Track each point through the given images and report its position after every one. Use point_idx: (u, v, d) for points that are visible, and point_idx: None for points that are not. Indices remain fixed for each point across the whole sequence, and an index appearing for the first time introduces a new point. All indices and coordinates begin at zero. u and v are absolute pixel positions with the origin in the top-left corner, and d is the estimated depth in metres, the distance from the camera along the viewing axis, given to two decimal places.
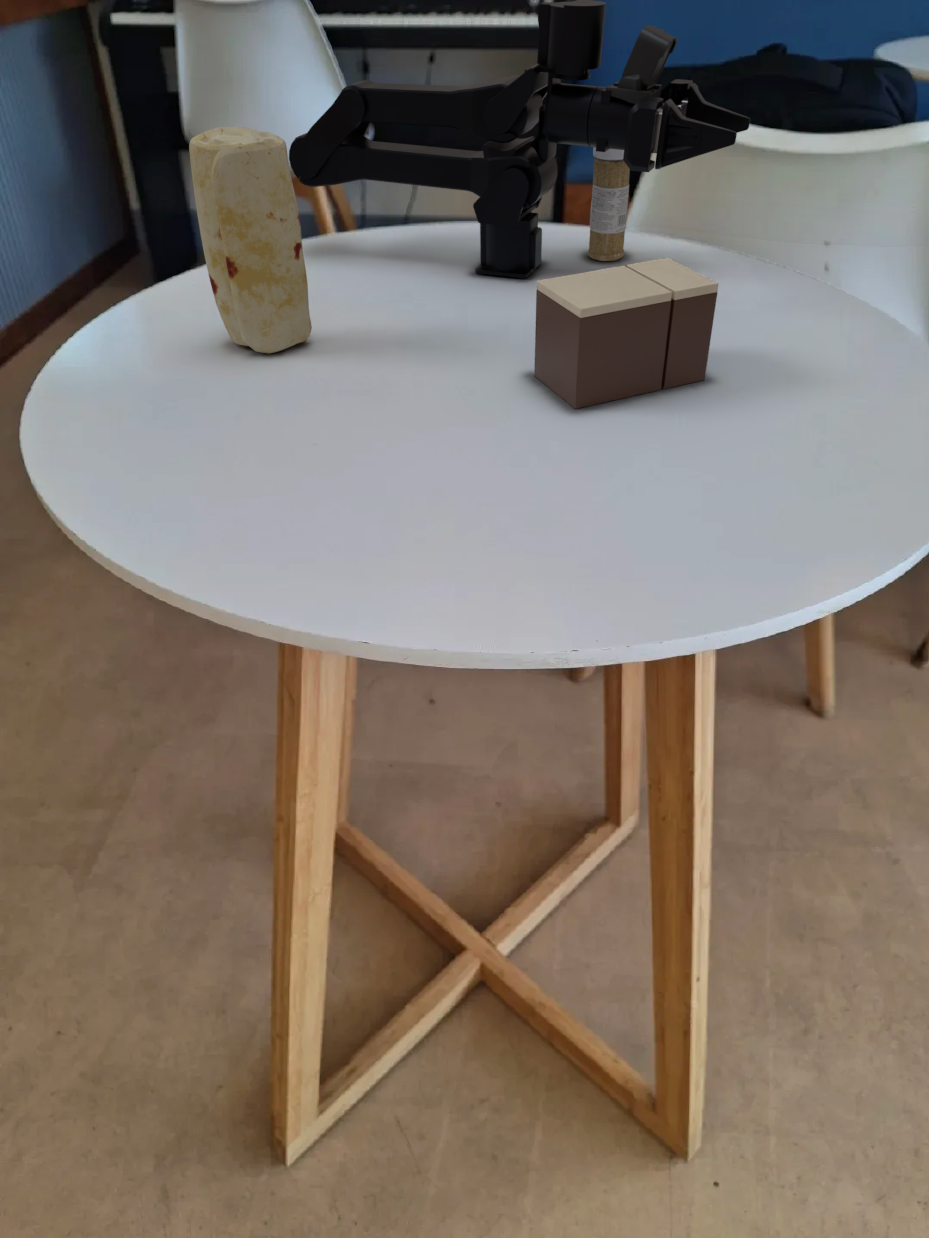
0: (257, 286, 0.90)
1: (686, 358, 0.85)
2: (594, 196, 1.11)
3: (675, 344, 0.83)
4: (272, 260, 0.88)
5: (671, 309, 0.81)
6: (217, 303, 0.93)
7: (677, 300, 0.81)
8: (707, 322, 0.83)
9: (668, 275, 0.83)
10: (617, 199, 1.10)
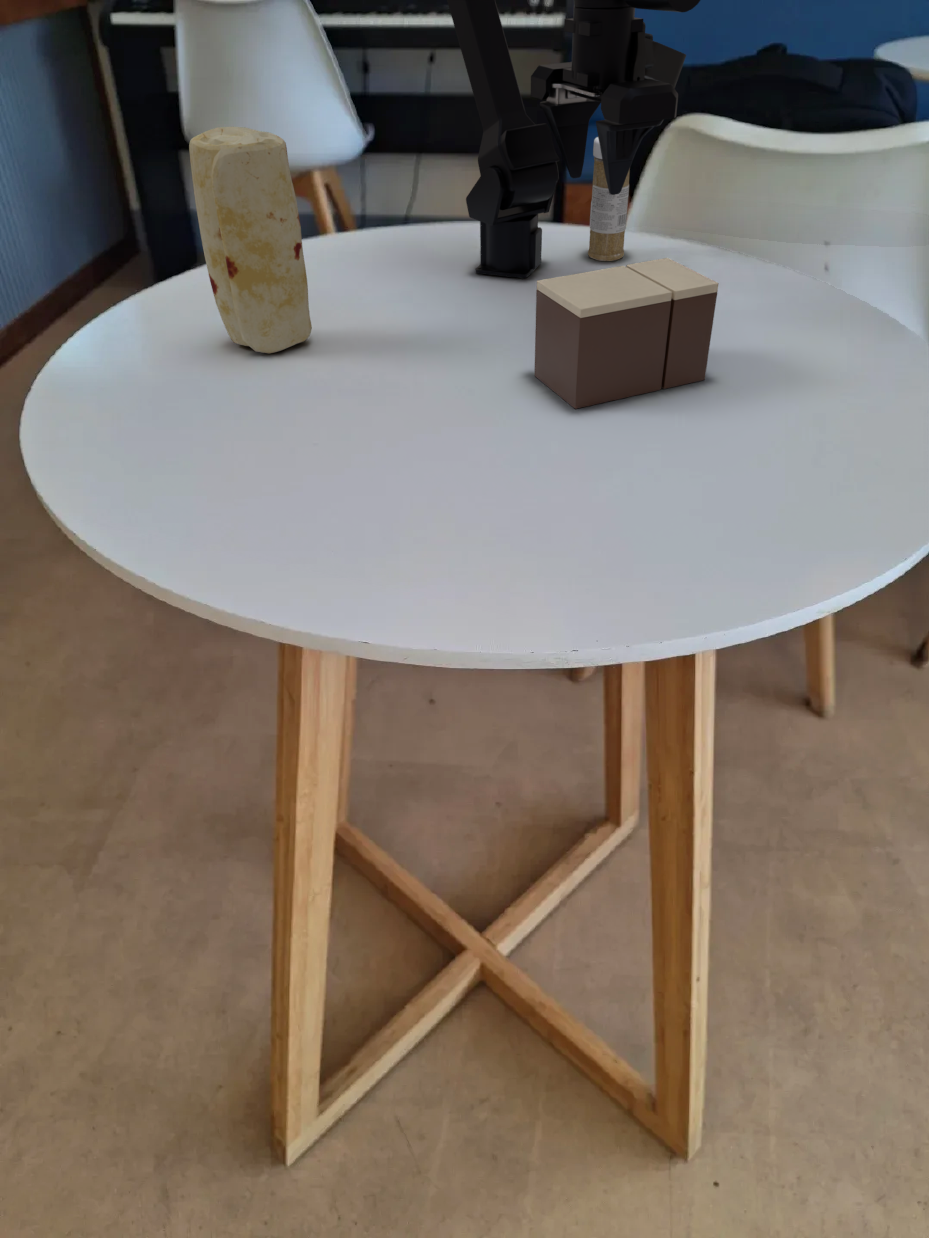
0: (257, 286, 0.90)
1: (686, 358, 0.85)
2: (594, 196, 1.11)
3: (675, 344, 0.83)
4: (272, 260, 0.88)
5: (671, 309, 0.81)
6: (217, 303, 0.93)
7: (677, 300, 0.81)
8: (707, 322, 0.83)
9: (668, 275, 0.83)
10: (617, 199, 1.10)
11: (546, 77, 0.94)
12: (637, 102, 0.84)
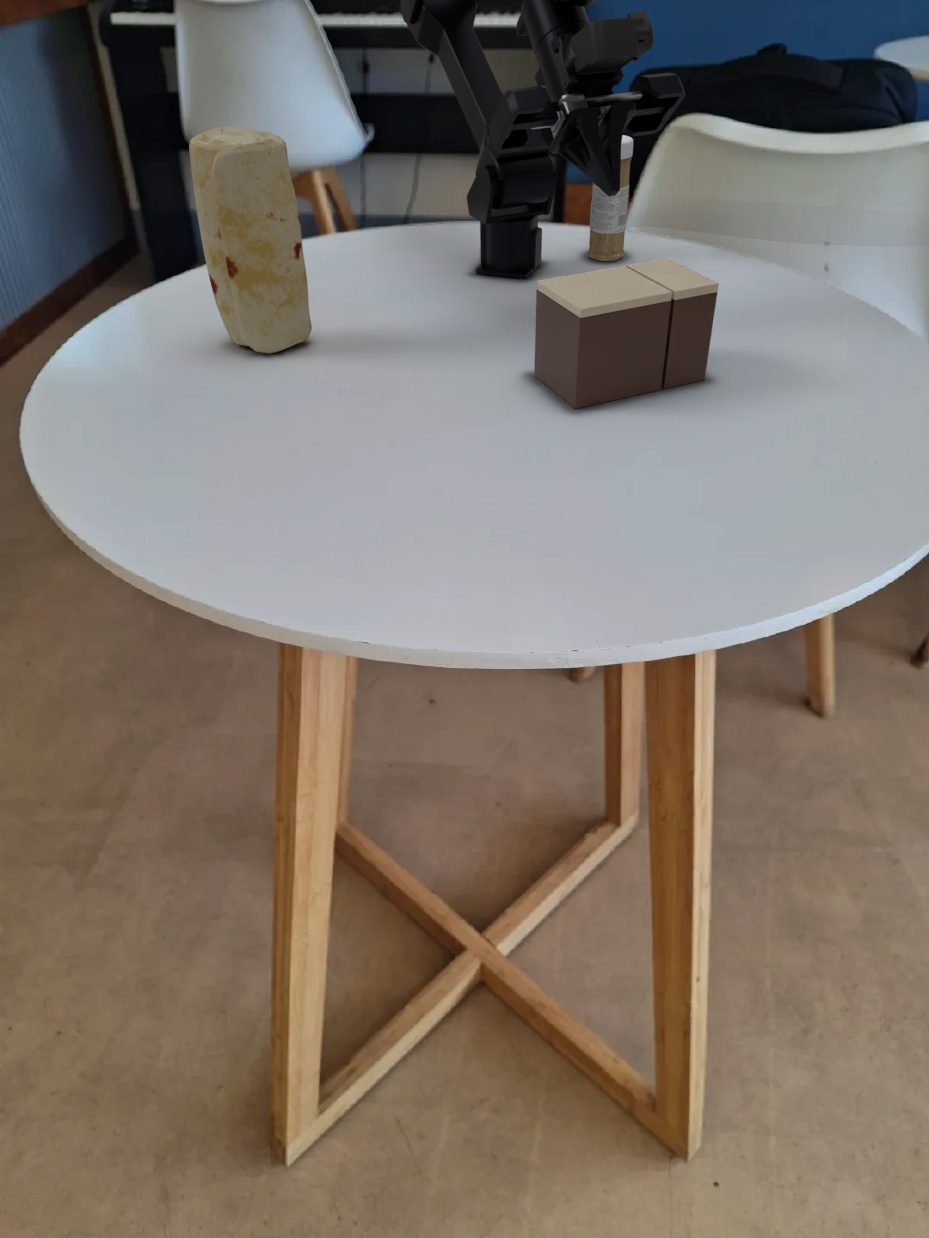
0: (257, 286, 0.90)
1: (686, 358, 0.85)
2: (594, 196, 1.11)
3: (675, 344, 0.83)
4: (272, 260, 0.88)
5: (671, 309, 0.81)
6: (217, 303, 0.93)
7: (677, 300, 0.81)
8: (707, 322, 0.83)
9: (668, 275, 0.83)
10: (617, 199, 1.10)
11: None
12: (492, 128, 0.88)
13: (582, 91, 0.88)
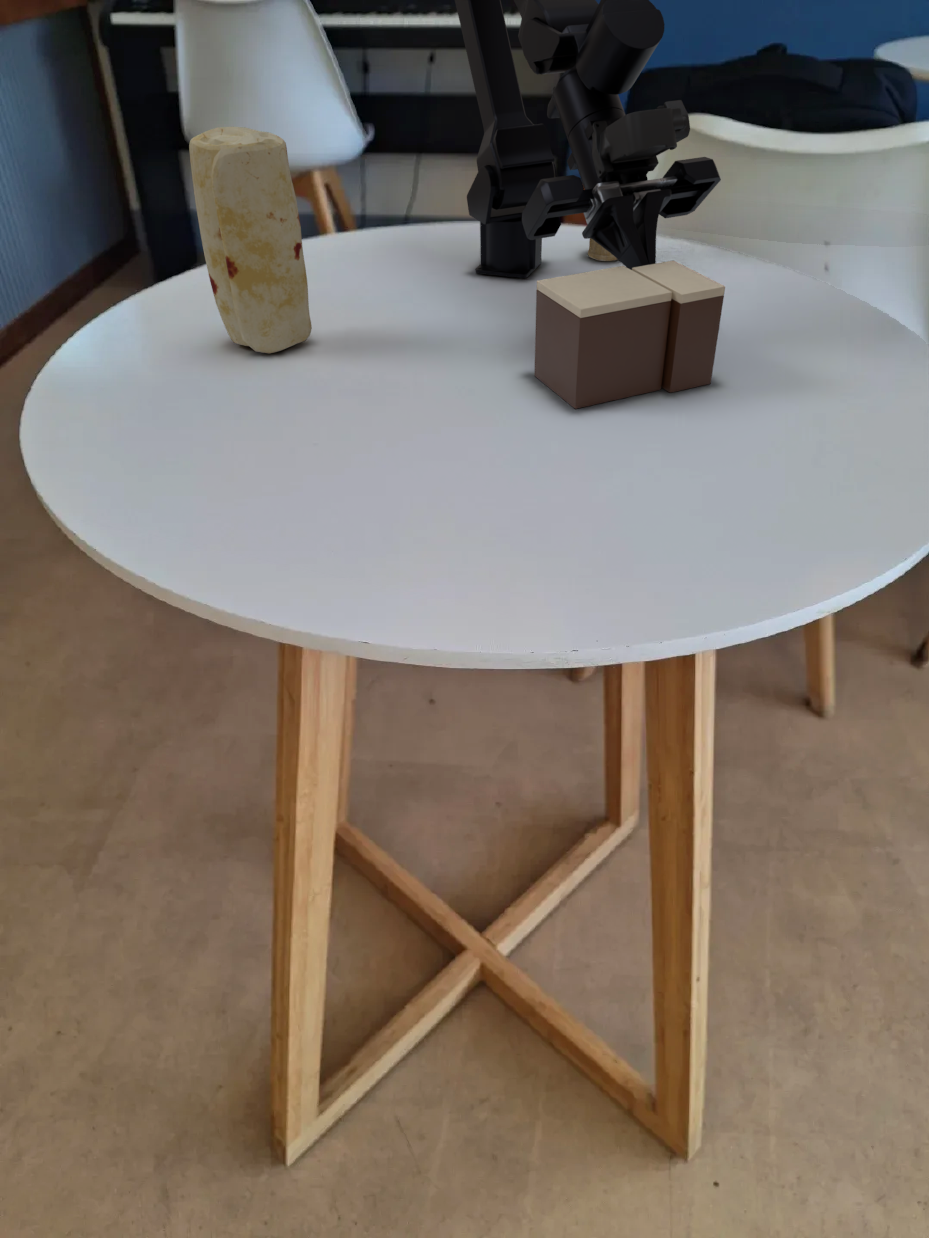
0: (257, 286, 0.90)
1: (692, 362, 0.84)
2: None
3: (681, 348, 0.83)
4: (272, 260, 0.88)
5: (677, 312, 0.81)
6: (217, 303, 0.93)
7: (683, 304, 0.80)
8: (713, 325, 0.83)
9: (675, 278, 0.83)
10: None
11: None
12: (525, 215, 0.87)
13: (616, 177, 0.87)
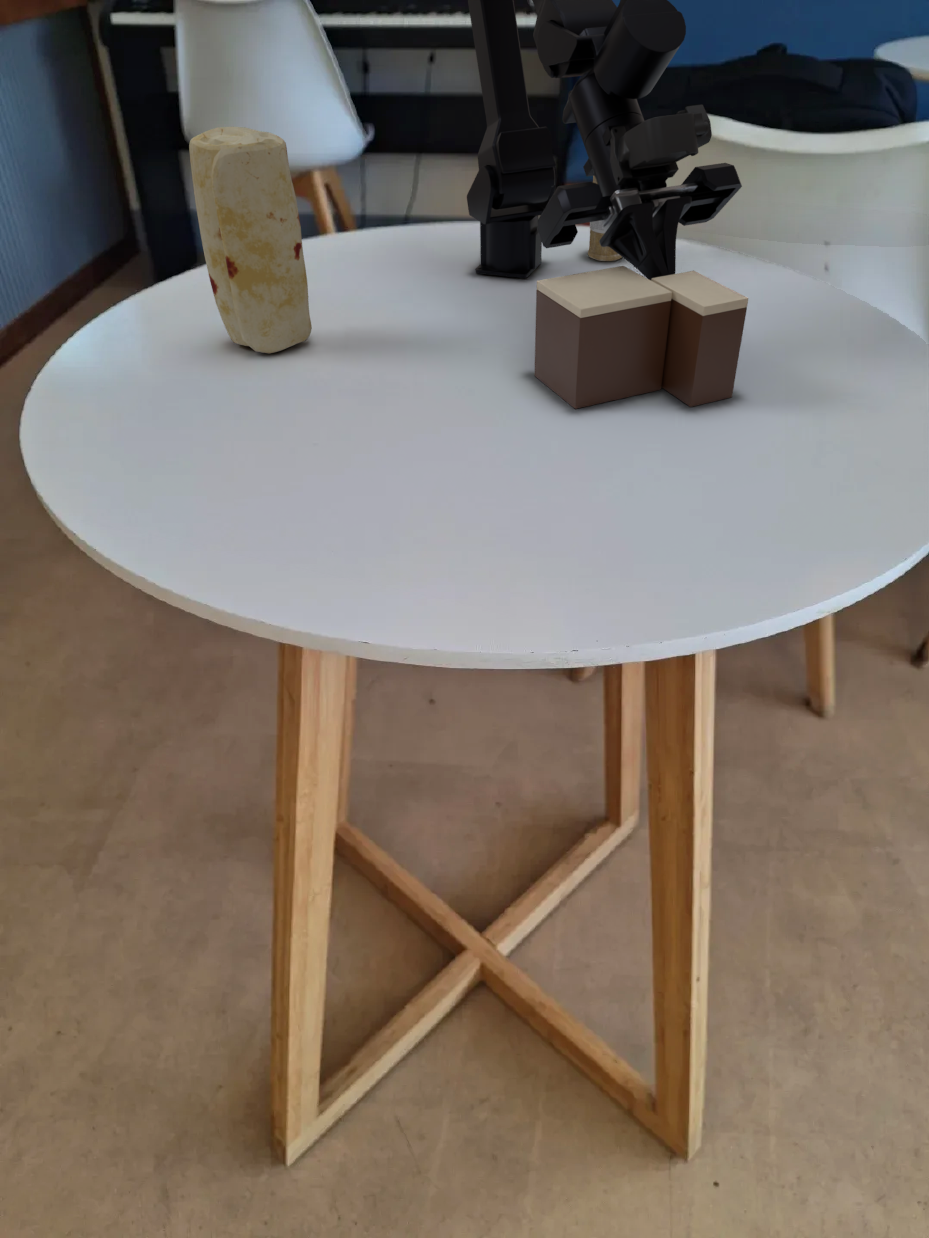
0: (257, 286, 0.90)
1: (713, 376, 0.82)
2: None
3: (703, 361, 0.80)
4: (272, 260, 0.88)
5: (699, 325, 0.78)
6: (217, 303, 0.93)
7: (706, 316, 0.78)
8: (736, 338, 0.80)
9: (696, 289, 0.80)
10: None
11: None
12: (541, 223, 0.84)
13: (635, 184, 0.84)
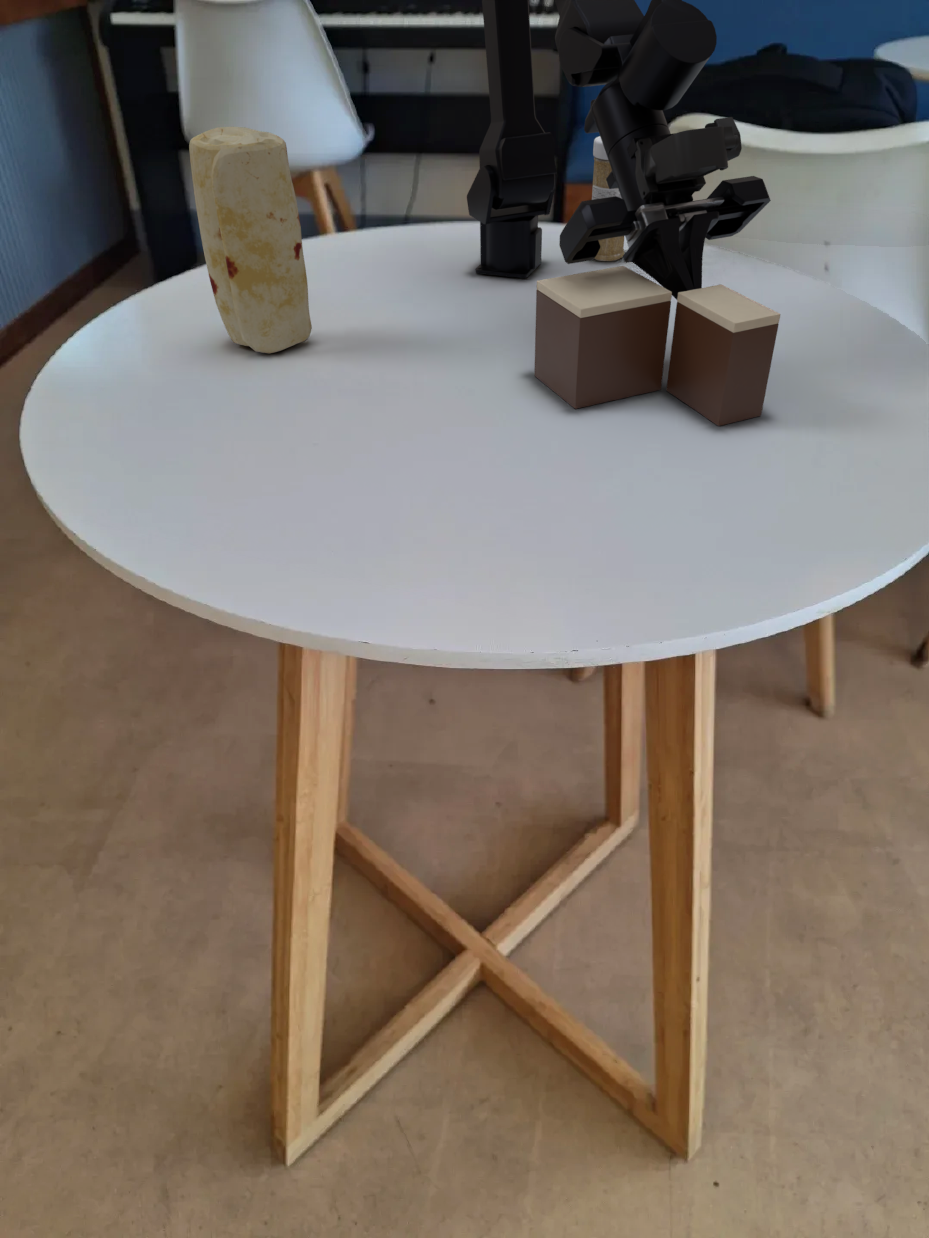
0: (257, 286, 0.90)
1: (743, 394, 0.79)
2: (594, 196, 1.11)
3: (732, 379, 0.77)
4: (272, 260, 0.88)
5: (729, 342, 0.75)
6: (217, 303, 0.93)
7: (736, 333, 0.75)
8: (766, 355, 0.77)
9: (725, 304, 0.77)
10: None
11: None
12: (563, 238, 0.81)
13: (660, 198, 0.82)
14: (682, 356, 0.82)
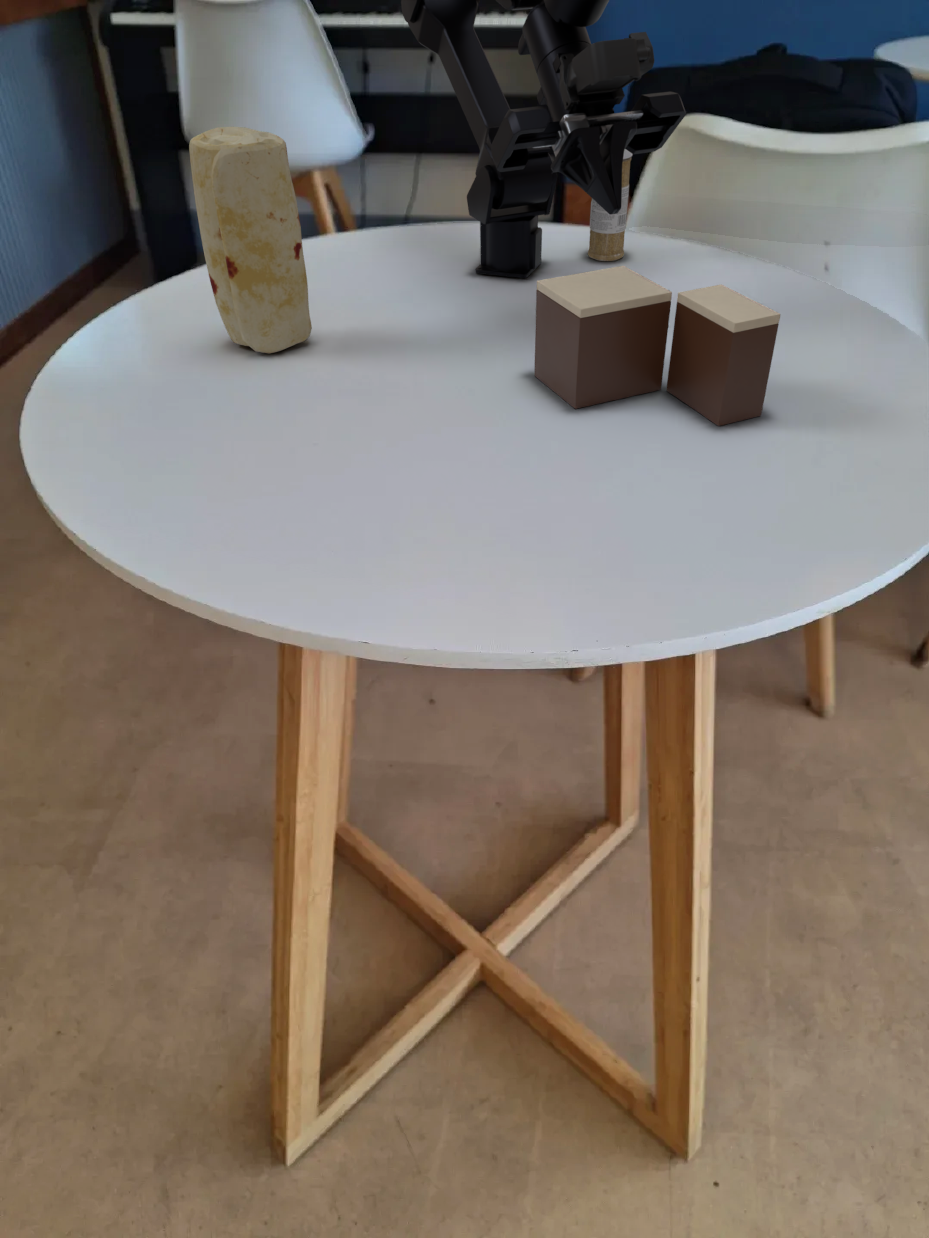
0: (257, 286, 0.90)
1: (743, 394, 0.79)
2: None
3: (732, 379, 0.77)
4: (272, 260, 0.88)
5: (729, 342, 0.75)
6: (217, 303, 0.93)
7: (736, 333, 0.75)
8: (766, 355, 0.77)
9: (725, 304, 0.77)
10: None
11: None
12: (494, 147, 0.89)
13: (583, 110, 0.89)
14: (682, 356, 0.82)
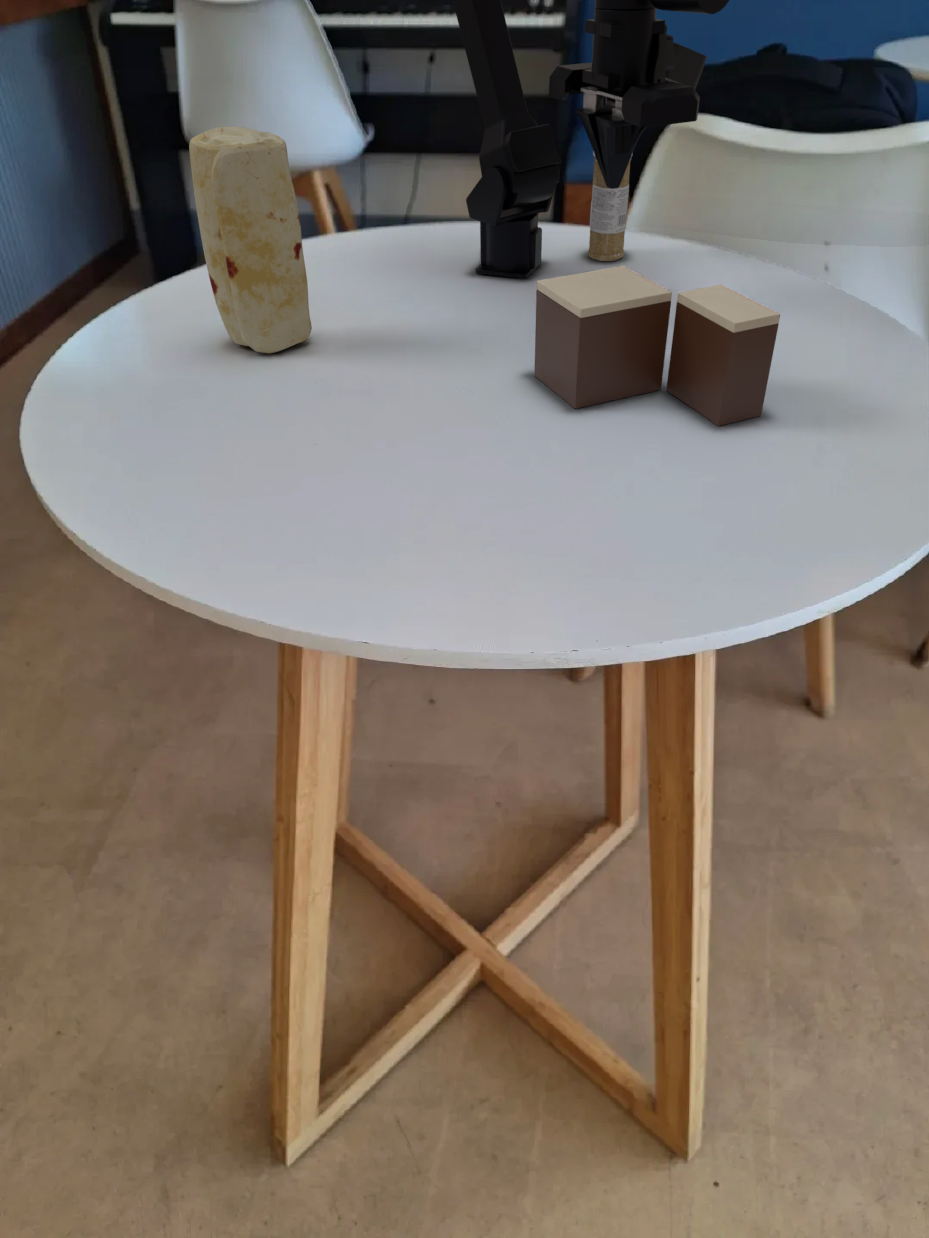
0: (257, 286, 0.90)
1: (743, 394, 0.79)
2: (594, 196, 1.11)
3: (732, 379, 0.77)
4: (272, 260, 0.88)
5: (729, 342, 0.75)
6: (217, 303, 0.93)
7: (736, 333, 0.75)
8: (766, 355, 0.77)
9: (725, 304, 0.77)
10: (617, 199, 1.10)
11: (565, 78, 0.93)
12: (658, 105, 0.83)
13: None
14: (682, 356, 0.82)
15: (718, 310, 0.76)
